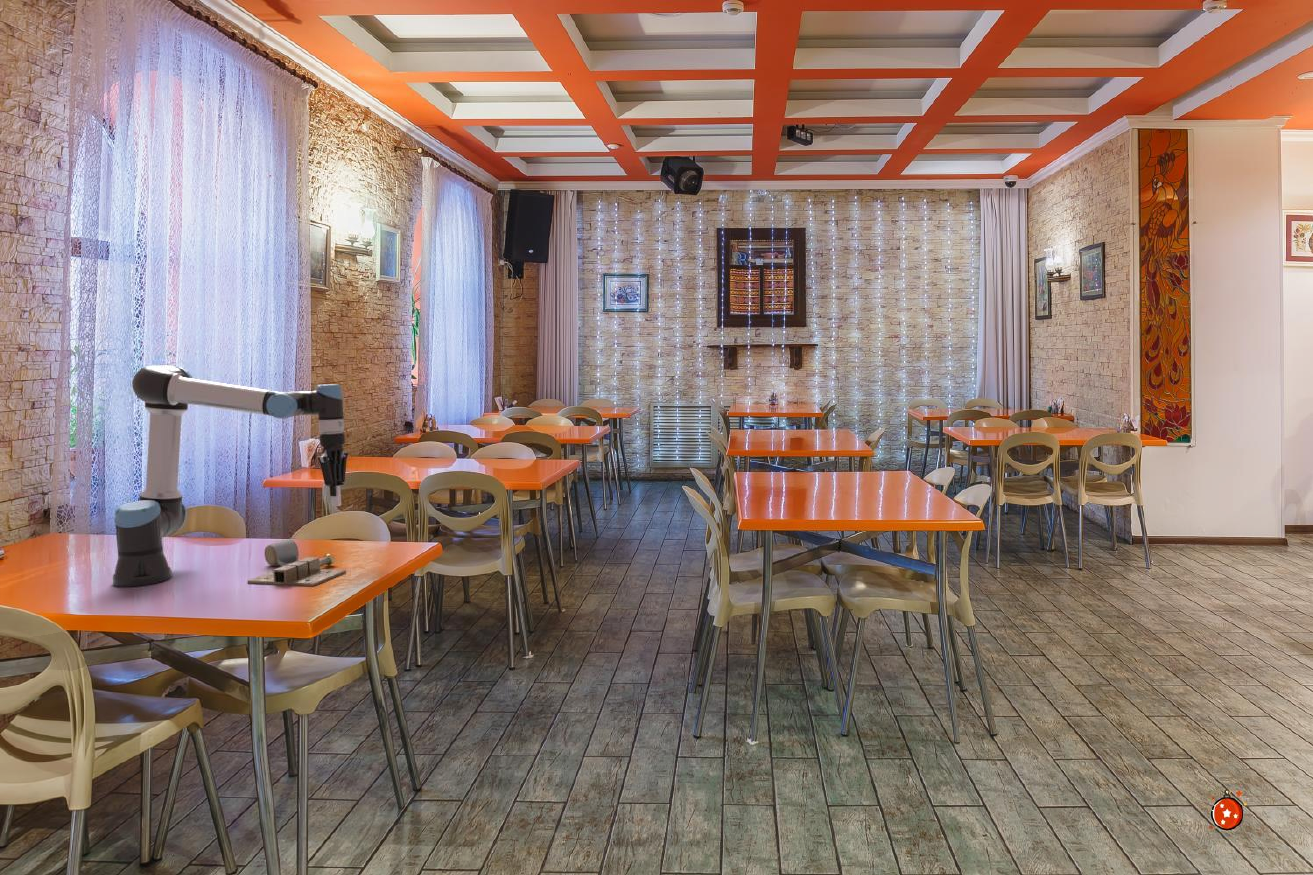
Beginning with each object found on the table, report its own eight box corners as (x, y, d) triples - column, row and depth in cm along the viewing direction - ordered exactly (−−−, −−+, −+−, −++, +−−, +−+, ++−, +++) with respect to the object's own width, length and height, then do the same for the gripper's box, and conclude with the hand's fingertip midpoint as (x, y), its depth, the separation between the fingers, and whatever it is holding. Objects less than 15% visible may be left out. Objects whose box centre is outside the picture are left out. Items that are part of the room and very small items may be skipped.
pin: (300, 578, 254) (299, 567, 254) (290, 577, 255) (289, 566, 255) (335, 564, 271) (334, 554, 270) (325, 564, 272) (325, 553, 271)
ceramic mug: (263, 565, 273) (262, 541, 272) (287, 560, 279) (286, 537, 279) (280, 570, 267) (279, 546, 266) (305, 565, 273) (304, 541, 272)
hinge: (313, 586, 245) (312, 571, 245) (247, 583, 250) (246, 568, 250) (345, 572, 261) (345, 558, 260) (283, 570, 266) (282, 556, 265)
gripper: (330, 434, 265) (334, 509, 267) (354, 430, 278) (358, 502, 280) (308, 434, 267) (313, 509, 269) (333, 431, 279) (338, 502, 281)
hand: (336, 505), depth 274 cm, fingers closed
